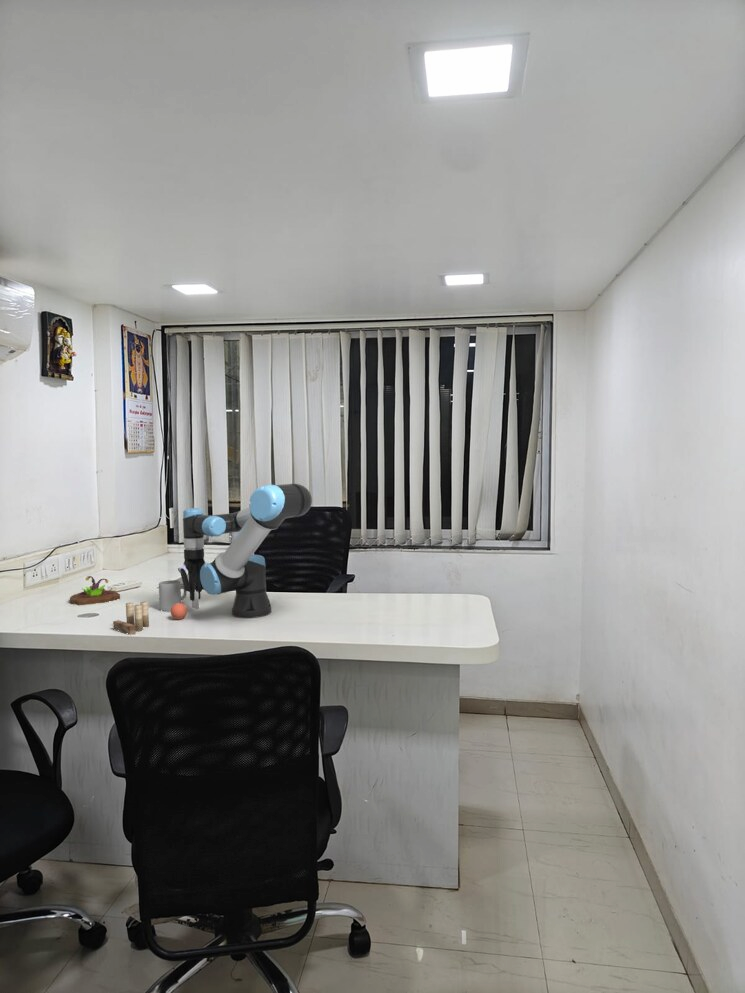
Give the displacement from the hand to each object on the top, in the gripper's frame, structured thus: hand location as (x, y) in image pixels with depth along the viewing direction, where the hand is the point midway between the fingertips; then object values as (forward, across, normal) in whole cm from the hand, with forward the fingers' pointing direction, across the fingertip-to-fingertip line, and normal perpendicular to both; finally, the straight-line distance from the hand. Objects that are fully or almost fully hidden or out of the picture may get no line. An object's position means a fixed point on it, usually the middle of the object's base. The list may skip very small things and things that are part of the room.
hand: (195, 608), depth 255 cm
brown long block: (+2, +30, +3) cm, 30 cm away
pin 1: (+3, +26, 0) cm, 26 cm away
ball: (-1, +8, +2) cm, 8 cm away
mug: (+3, 0, -17) cm, 17 cm away
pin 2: (+2, +26, +6) cm, 26 cm away
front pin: (+2, +22, +3) cm, 22 cm away
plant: (+5, +15, -61) cm, 63 cm away
